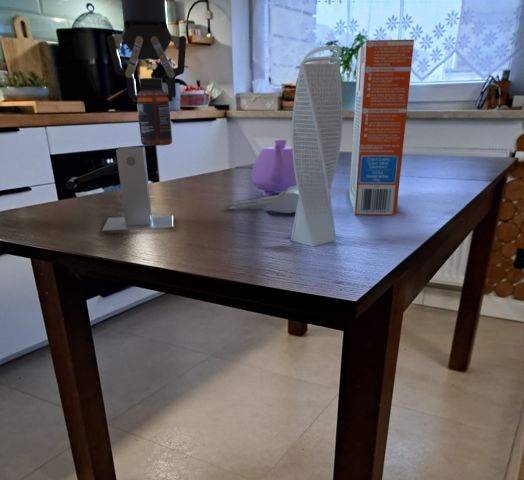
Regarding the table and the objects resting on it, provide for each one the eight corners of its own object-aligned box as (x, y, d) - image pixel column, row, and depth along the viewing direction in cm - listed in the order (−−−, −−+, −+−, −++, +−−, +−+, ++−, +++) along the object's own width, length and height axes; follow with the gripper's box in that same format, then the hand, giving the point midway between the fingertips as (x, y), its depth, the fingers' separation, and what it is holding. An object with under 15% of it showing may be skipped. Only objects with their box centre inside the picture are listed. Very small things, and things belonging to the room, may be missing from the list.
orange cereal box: (396, 215, 102) (414, 39, 89) (354, 215, 103) (366, 40, 90) (383, 195, 123) (396, 49, 109) (349, 195, 123) (358, 50, 110)
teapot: (308, 201, 117) (309, 143, 112) (246, 200, 118) (244, 143, 113) (309, 186, 135) (311, 136, 129) (255, 186, 136) (255, 136, 131)
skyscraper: (313, 232, 90) (319, 47, 78) (347, 240, 85) (359, 44, 73) (281, 240, 85) (282, 45, 73) (314, 249, 80) (322, 41, 68)
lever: (69, 193, 87) (62, 180, 86) (74, 189, 91) (67, 175, 90) (141, 165, 87) (135, 150, 86) (143, 161, 91) (137, 148, 90)
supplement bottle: (176, 143, 101) (172, 78, 96) (166, 146, 96) (161, 77, 91) (147, 143, 102) (141, 78, 97) (136, 146, 97) (129, 77, 92)
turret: (236, 216, 113) (231, 194, 111) (327, 203, 109) (324, 180, 107) (226, 226, 104) (221, 202, 102) (325, 213, 100) (322, 188, 98)
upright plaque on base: (102, 237, 89) (90, 152, 82) (109, 224, 97) (98, 146, 91) (173, 234, 90) (166, 150, 84) (173, 221, 99) (166, 144, 93)
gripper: (184, -4, 92) (191, 100, 100) (102, -6, 90) (114, 101, 98) (186, -12, 86) (192, 101, 93) (96, -14, 84) (110, 101, 91)
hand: (152, 100), depth 95 cm, fingers closed on supplement bottle, 6 cm apart
